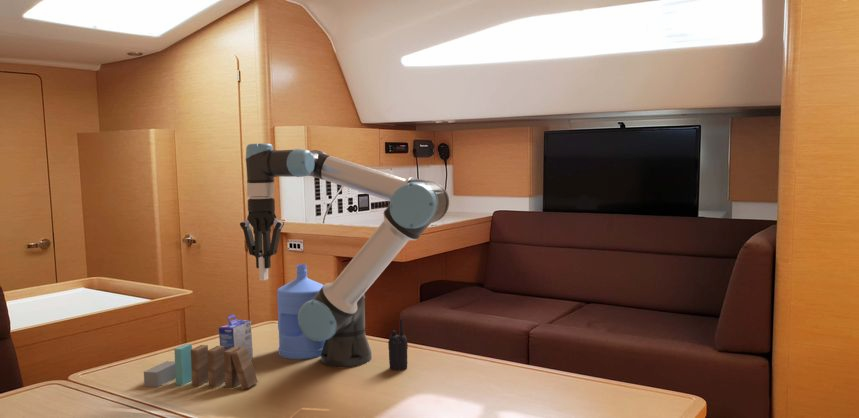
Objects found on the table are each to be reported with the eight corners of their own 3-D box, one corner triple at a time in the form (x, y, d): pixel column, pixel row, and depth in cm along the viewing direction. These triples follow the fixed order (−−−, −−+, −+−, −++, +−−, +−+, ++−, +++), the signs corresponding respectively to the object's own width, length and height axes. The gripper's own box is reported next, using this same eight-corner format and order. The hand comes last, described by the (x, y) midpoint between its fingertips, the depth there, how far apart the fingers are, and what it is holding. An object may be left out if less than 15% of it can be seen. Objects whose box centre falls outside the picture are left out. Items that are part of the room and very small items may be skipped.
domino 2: (225, 381, 181) (224, 346, 181) (215, 387, 176) (213, 351, 176) (218, 381, 182) (217, 345, 181) (208, 387, 177) (207, 350, 176)
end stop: (179, 375, 188) (179, 361, 187) (157, 387, 178) (156, 372, 178) (167, 374, 188) (166, 361, 188) (144, 386, 179) (143, 371, 179)
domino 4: (258, 381, 179) (246, 346, 179) (248, 387, 174) (236, 351, 174) (251, 383, 179) (240, 348, 179) (242, 389, 174) (230, 353, 175)
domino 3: (241, 382, 180) (240, 346, 179) (232, 388, 175) (230, 351, 175) (235, 382, 181) (233, 346, 180) (225, 388, 176) (223, 351, 175)
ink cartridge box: (238, 357, 204) (236, 311, 203) (253, 359, 203) (252, 312, 202) (219, 367, 195) (217, 319, 194) (235, 368, 193) (234, 319, 192)
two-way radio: (408, 368, 191) (407, 316, 190) (406, 372, 186) (405, 320, 185) (389, 367, 191) (388, 316, 190) (387, 372, 187) (386, 320, 186)
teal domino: (193, 379, 184) (191, 344, 183) (182, 385, 179) (180, 349, 178) (186, 379, 184) (185, 344, 183) (175, 385, 179) (174, 348, 179)
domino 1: (209, 380, 182) (207, 345, 182) (198, 386, 178) (197, 350, 177) (202, 380, 183) (201, 344, 182) (192, 386, 178) (190, 349, 177)
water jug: (276, 349, 213) (274, 263, 211) (325, 344, 217) (323, 260, 215) (281, 363, 198) (277, 270, 196) (333, 357, 202) (330, 267, 201)
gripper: (287, 197, 191) (290, 277, 192) (246, 197, 194) (249, 276, 195) (276, 198, 183) (278, 282, 185) (233, 198, 186) (236, 281, 188)
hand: (263, 279), depth 190 cm, fingers closed
